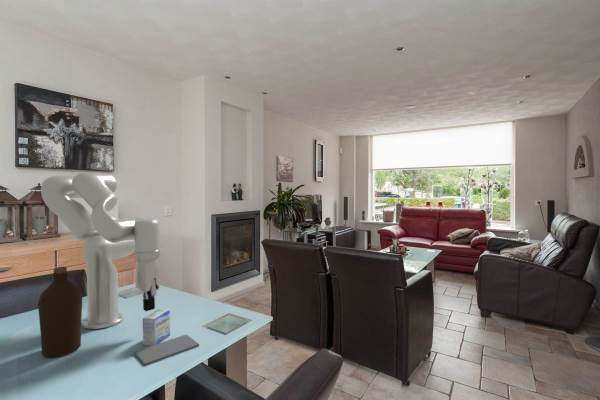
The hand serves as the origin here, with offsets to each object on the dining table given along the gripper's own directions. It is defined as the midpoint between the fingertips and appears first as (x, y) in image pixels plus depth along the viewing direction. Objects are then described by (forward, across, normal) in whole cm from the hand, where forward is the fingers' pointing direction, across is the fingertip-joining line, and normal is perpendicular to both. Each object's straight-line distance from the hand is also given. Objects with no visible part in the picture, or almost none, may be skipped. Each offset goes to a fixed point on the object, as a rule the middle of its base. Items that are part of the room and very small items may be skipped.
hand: (149, 309), depth 108 cm
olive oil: (+8, -6, -23) cm, 25 cm away
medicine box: (+8, +7, 0) cm, 11 cm away
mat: (+8, +16, 0) cm, 18 cm away
